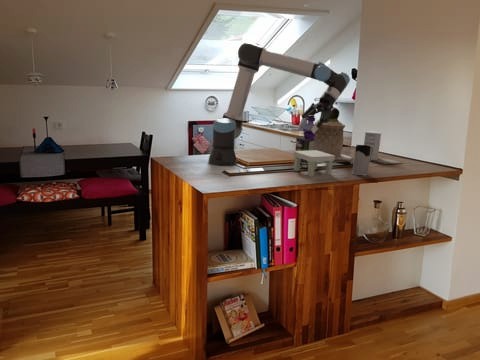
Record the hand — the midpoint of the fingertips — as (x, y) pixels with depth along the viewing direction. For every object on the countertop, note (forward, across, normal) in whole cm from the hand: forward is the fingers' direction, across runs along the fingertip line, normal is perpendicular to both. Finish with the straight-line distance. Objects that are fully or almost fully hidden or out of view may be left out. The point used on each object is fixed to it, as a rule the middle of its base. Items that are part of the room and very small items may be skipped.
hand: (305, 130), depth 229 cm
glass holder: (-5, -15, -38) cm, 41 cm away
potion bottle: (+1, 0, -6) cm, 6 cm away
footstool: (+11, -1, -20) cm, 23 cm away
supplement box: (-34, +9, -66) cm, 75 cm away
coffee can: (+1, +19, -31) cm, 36 cm away
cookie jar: (-18, +26, -50) cm, 60 cm away
